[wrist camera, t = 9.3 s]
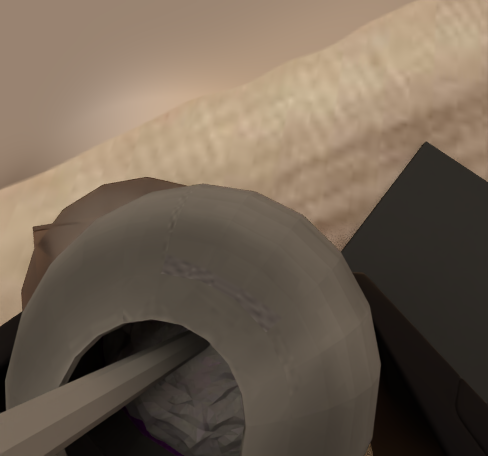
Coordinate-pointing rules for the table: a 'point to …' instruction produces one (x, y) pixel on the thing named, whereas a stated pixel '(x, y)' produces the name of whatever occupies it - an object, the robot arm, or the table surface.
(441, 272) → the mat
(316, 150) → the table surface
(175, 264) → the beverage cup
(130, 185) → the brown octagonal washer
